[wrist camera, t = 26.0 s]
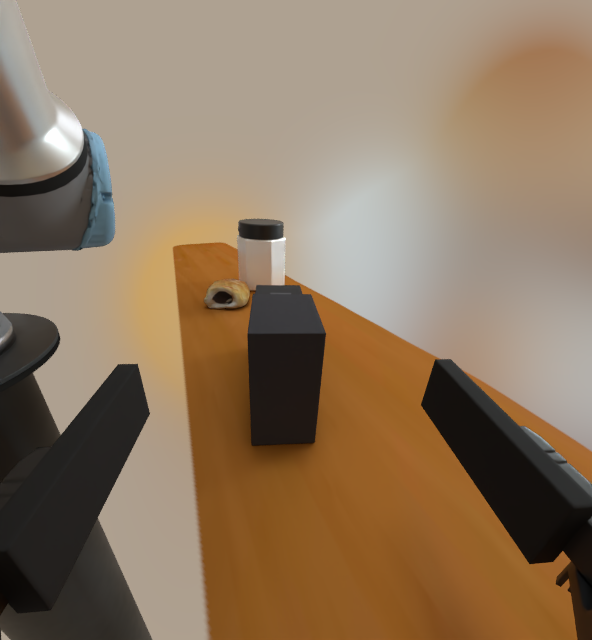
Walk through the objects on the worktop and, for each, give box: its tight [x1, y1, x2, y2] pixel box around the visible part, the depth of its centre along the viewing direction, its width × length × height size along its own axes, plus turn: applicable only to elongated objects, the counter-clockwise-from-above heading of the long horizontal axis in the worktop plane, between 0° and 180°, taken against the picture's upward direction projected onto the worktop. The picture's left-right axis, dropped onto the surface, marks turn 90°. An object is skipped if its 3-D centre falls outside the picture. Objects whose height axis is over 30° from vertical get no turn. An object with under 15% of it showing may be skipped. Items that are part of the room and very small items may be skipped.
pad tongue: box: [248, 293, 326, 445], centre depth 25 cm, size 10×5×10 cm, turn 5°
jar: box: [237, 219, 285, 291], centre depth 54 cm, size 9×8×12 cm
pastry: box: [204, 279, 250, 309], centre depth 48 cm, size 9×7×4 cm
